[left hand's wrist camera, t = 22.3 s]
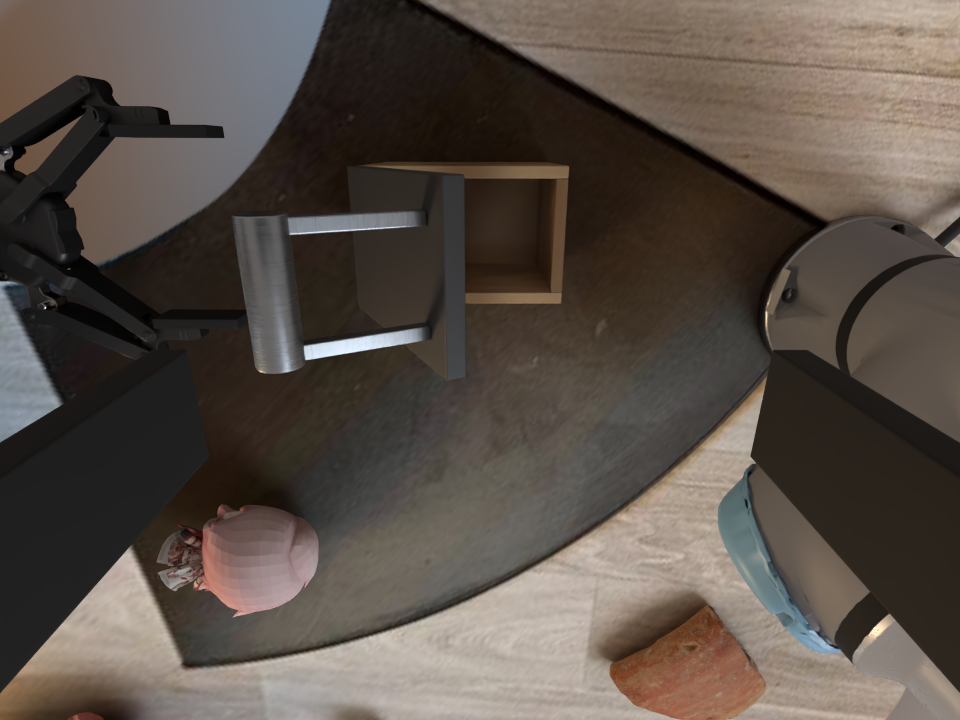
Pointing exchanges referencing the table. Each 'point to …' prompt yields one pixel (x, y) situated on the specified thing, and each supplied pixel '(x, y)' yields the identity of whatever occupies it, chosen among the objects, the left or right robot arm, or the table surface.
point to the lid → (366, 271)
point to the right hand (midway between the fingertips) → (231, 231)
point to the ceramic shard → (692, 672)
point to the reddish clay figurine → (86, 716)
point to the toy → (244, 557)
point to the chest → (510, 228)
